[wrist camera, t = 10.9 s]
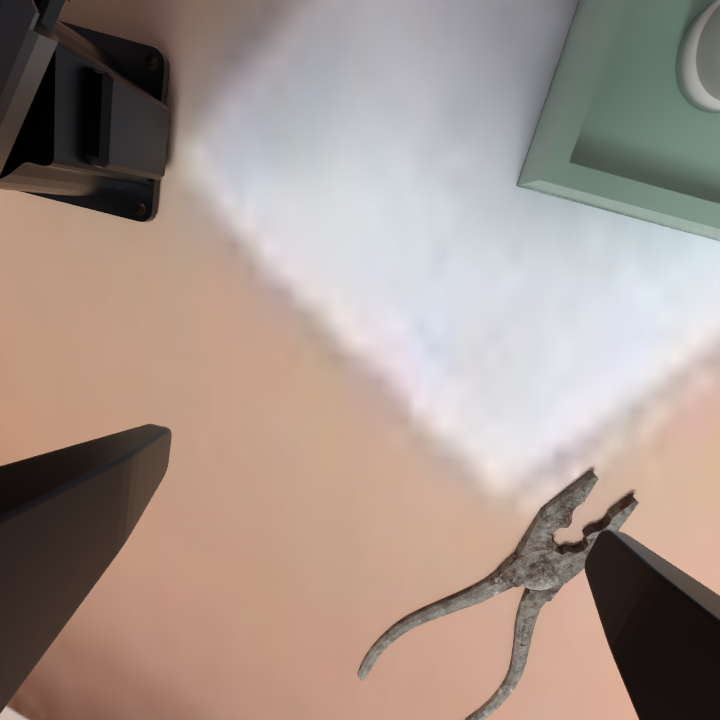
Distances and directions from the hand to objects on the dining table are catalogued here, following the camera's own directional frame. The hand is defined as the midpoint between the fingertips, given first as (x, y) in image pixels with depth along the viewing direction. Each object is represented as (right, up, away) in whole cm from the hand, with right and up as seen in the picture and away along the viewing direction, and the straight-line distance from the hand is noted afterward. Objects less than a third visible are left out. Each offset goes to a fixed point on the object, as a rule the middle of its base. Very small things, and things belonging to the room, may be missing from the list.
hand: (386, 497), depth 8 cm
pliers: (+7, -11, +17) cm, 21 cm away
